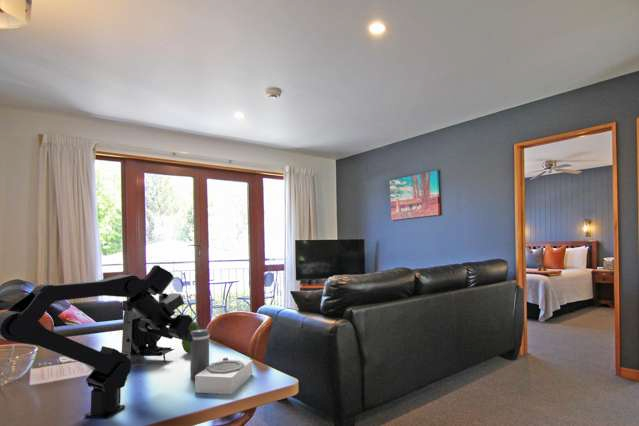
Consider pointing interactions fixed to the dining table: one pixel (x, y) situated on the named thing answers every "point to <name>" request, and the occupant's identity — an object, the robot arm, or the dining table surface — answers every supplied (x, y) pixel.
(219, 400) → the dining table surface
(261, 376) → the dining table surface
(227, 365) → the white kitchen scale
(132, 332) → the vintage camera
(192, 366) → the lens
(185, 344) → the avocado
